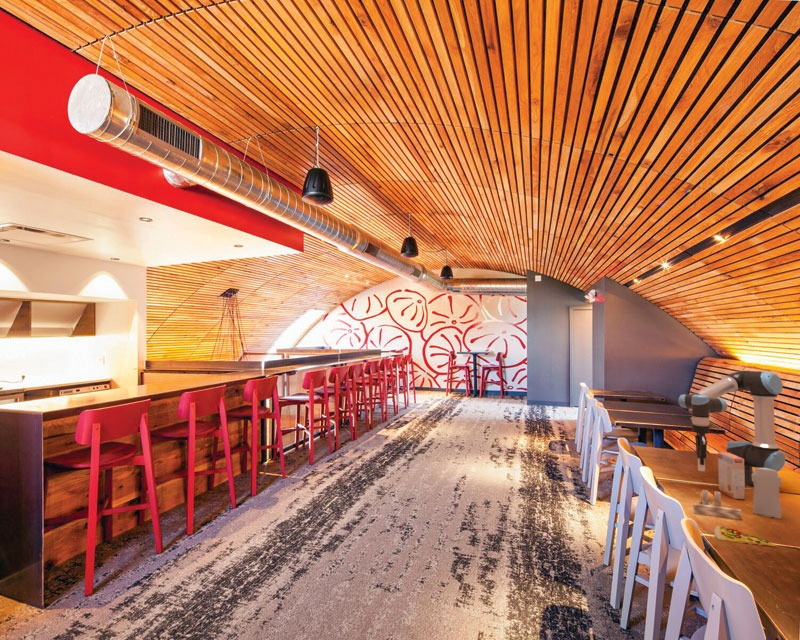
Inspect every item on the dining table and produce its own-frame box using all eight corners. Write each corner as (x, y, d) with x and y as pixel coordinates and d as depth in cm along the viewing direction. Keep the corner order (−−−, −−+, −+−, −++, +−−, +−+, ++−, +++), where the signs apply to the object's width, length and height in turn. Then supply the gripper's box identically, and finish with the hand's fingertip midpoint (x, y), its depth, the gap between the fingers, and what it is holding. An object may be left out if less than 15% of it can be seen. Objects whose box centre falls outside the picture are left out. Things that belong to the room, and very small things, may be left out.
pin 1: (707, 507, 208) (707, 490, 209) (709, 509, 206) (708, 491, 207) (701, 507, 209) (701, 489, 210) (703, 508, 207) (702, 491, 208)
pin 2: (720, 509, 207) (719, 491, 207) (721, 511, 204) (721, 493, 205) (714, 508, 207) (713, 490, 208) (715, 510, 205) (715, 492, 206)
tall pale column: (781, 517, 198) (780, 468, 200) (782, 520, 195) (781, 471, 196) (752, 511, 205) (750, 464, 206) (752, 514, 201) (751, 466, 202)
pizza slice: (713, 528, 187) (713, 521, 187) (776, 542, 175) (776, 534, 175) (713, 541, 175) (712, 533, 175) (780, 557, 162) (780, 549, 163)
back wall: (740, 518, 196) (739, 509, 197) (741, 519, 195) (741, 511, 195) (693, 511, 203) (693, 503, 203) (694, 513, 201) (694, 504, 202)
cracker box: (746, 500, 220) (745, 458, 221) (732, 499, 221) (731, 458, 222) (730, 490, 233) (729, 452, 234) (718, 490, 235) (717, 451, 236)
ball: (717, 499, 209) (714, 508, 212) (713, 490, 214) (711, 498, 217) (702, 496, 211) (699, 505, 214) (699, 487, 216) (697, 495, 219)
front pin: (713, 503, 209) (718, 509, 201) (712, 507, 209) (717, 514, 201) (707, 501, 210) (712, 507, 202) (706, 506, 210) (711, 512, 202)
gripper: (689, 422, 231) (689, 466, 230) (695, 426, 219) (696, 473, 218) (705, 423, 229) (706, 468, 227) (713, 427, 216) (714, 475, 215)
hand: (701, 470), depth 223 cm, fingers closed
